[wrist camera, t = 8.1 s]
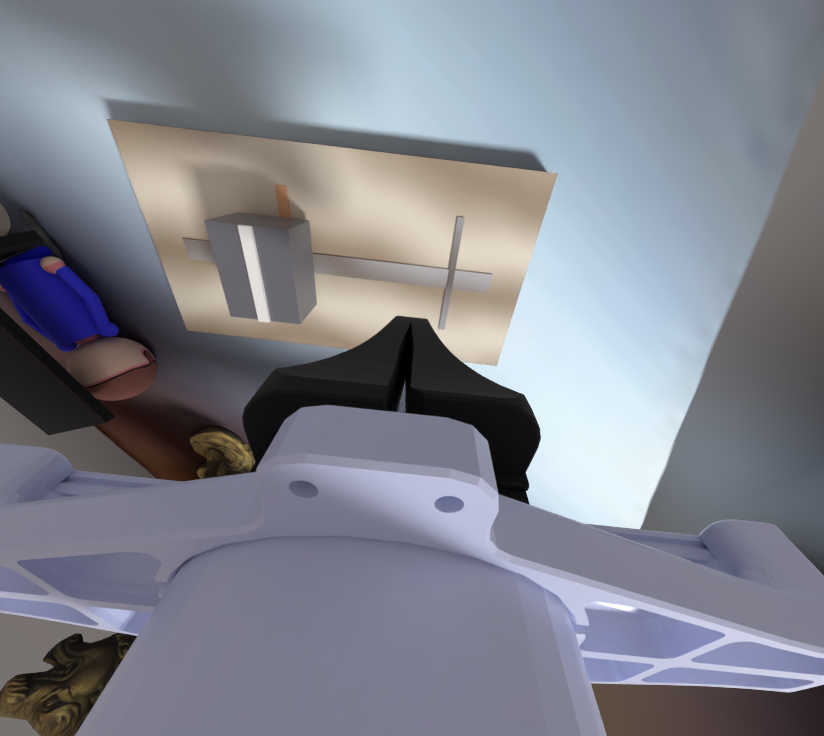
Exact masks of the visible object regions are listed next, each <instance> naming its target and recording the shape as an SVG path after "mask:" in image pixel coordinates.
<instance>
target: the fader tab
mask: <svg viewBox="0 0 824 736" xmlns="http://www.w3.org/2000/svg"><path fill="white" fill-rule="evenodd" d="M204 222H205V226H206V229H207V233H208V237H209V240H210V244H211V247H212V251H213V255H214V258H215V262H216V266H217V269H218V273H219V276H220V280H221V284H222V287H223V291H224V294H225V298H226V302H227V305H228V309H229V313H230V316H231V317H239V318H248V319H257V320H258V321H259V322H268V323H269V322H270V321H274V322H283V323H292V324H301V323H302V322H303V320H304V319H305V318H306V317H307V316H308V314H309V313H310V312H311V311H312V310H313V308H314V307H315V306H316V305H317V298H316V287H315V277H314V266H313V255H312V244H311V233H310V222H309V220H301V219H292V218H284V217H275V216H267V215H258V214H250V213H241V212H237V213H232V214H228V215H224V216H220V217H216V218H211V219H207V220H204Z"/></svg>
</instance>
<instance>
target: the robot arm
mask: <svg viewBox="0 0 824 736" xmlns="http://www.w3.org/2000/svg"><path fill="white" fill-rule="evenodd" d="M405 379H406V382H405ZM404 383H405V385H406V413H399V412H397V411H398V407H399V403H400V399H401V395H402V391H403V387H404ZM242 419H243V426H244V430H245V433H246V436H247V439H248V442H249V445H250V448H251V451H252V454H253V457H254V460H255V463H254V465H253V467H252V468H251V470H250V472H249V473H244V474H236V475H229V476H221V477H214V478H206V479H199V480H191V481H183V482H180V481H170V480H160V479H151V478H141V477H132V476H122V475H113V474H103V473H93V472H84V471H74V469H73V467H72V465H71V464H70V462H69V461H68V460H67V459H66V458H65V457H64V456H63V455H61V454H60V453H58V452H56V451H54V450H52V449H48V448H43V447H33V446H24V445H15V444H0V612H1V613H8V614H14V615H22V616H28V617H34V618H41V619H46V620H52V621H58V622H64V623H69V624H75V625H80V626H87V627H91V628H97V629H102V630H108V631H113V632H119V633H124V634H130V635H135V636H137V638H136V639H135V641H134V642H133V644H132V646H131V647H130V649H129V650H128V652H127V654H126V655H125V657H124V658H123V660H122V662H121V663H120V665H119V666H118V668H117V669H116V671H115V673H114V674H113V676H112V677H111V679H110V681H109V682H108V684H107V685H106V687H105V689H104V690H103V692H102V693H101V695H100V697H99V698H98V700H97V701H96V703H95V704H94V706H93V708H92V709H91V711H90V712H89V714H88V716H87V717H86V719H85V720H84V722H83V724H82V725H81V727H80V728H79V730H78V732H77V733H76V735H75V736H606V732H605V729H604V726H603V722H602V719H601V716H600V713H599V709H598V706H597V703H596V700H595V696H594V693H593V690H592V687H591V683H606V684H653V685H654V684H655V685H688V686H713V687H731V688H747V689H758V690H771V691H781V692H794V691H798V690H802V689H807V688H810V687H815V686H819V685H824V576H823V575H822V574H821V573H820V572H819V570H817V568H816V567H815V566H814V565H813V564H812V563H811V562H810V561H809V560H808V559H807V558H806V557H805V556H804V555H803V554H802V553H801V552H800V551H799V550H798V549H797V548H796V546H795V545H794V544H792V542H791V541H790V540H789V539H788V538H787V537H786V536H785V535H784V534H783V533H782V532H781V531H780V530H779V529H778V528H777V527H776V526H775V525H773V524H769V523H761V522H751V521H742V520H732V519H731V520H720V521H717V522H714V523H712V524H710V525H709V526H707V527H706V528H705V529H704V530H703V531H702V532H701V533H700V535H699V536H697V535H687V534H678V533H669V532H659V531H649V530H640V529H630V528H621V527H611V526H602V525H592V524H583V523H580V522H577V521H575V520H572V519H569V518H566V517H563V516H560V515H557V514H555V513H552V512H549V511H546V510H543V509H540V508H537V507H535V506H532V505H530V504H529V501H528V497H527V494H526V491H527V490H528V488H529V482H528V479H527V476H526V471H527V469H528V467H529V465H530V463H531V461H532V459H533V457H534V455H535V453H536V451H537V449H538V446H539V442H540V439H541V436H540V428H539V425H538V423H537V420H536V418H535V415H534V413H533V411H532V409H531V407H530V405H529V403H528V401H527V399H526V397H525V396H524V395H523V394H521V393H518V392H516V391H513V390H511V389H508V388H506V387H503V386H501V385H499V384H497V383H495V382H493V381H491V380H489V379H487V378H485V377H483V376H482V375H480V374H478V373H477V372H475V371H474V370H472V369H471V368H469V367H468V366H467V365H465V364H464V363H463V362H461V361H460V360H459V359H458V358H457V357H456V356H455V355H453V354H452V353H451V352H450V351H449V349H448V348H447V347H446V346H445V345H444V344H443V342H442V341H441V340H440V338H439V337H438V336H437V334H436V333H435V331H434V329H433V328H432V326H431V324H430V322H429V321H428V319H425V318H415V317H406V316H396V317H394V318H393V319H392V320H391V321H390V322H389V323H388V324H387V325H386V326H385V327H384V328H382V329H381V330H380V331H379V332H378V333H377V334H375V335H374V336H372V337H371V338H370V339H368V340H367V341H365V342H364V343H362V344H360V345H358V346H356V347H354V348H352V349H350V350H348V351H346V352H343V353H341V354H338V355H336V356H333V357H330V358H327V359H324V360H320V361H316V362H312V363H308V364H303V365H297V366H291V367H285V368H277V369H275V370H274V371H273V372H272V374H271V375H270V376H269V377H268V378H267V379H266V380H265V382H264V383H263V384H262V386H261V387H260V388H259V390H258V391H257V392H256V393H255V395H254V396H253V397H252V399H251V400H250V401H249V403H248V404H247V405H246V407H245V408H244V412H243V416H242Z"/></svg>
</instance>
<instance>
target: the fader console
mask: <svg viewBox="0 0 824 736" xmlns="http://www.w3.org/2000/svg"><path fill="white" fill-rule="evenodd" d="M107 121H108V123H109V126H110V129H111V131H112V134H113V136H114V139H115V142H116V144H117V147H118V150H119V152H120V155H121V158H122V160H123V163H124V165H125V168H126V171H127V173H128V176H129V179H130V181H131V184H132V186H133V189H134V192H135V194H136V197H137V200H138V202H139V205H140V208H141V210H142V213H143V215H144V218H145V221H146V223H147V226H148V229H149V231H150V234H151V237H152V239H153V242H154V244H155V247H156V250H157V252H158V255H159V258H160V260H161V263H162V265H163V268H164V271H165V273H166V276H167V279H168V281H169V284H170V287H171V289H172V292H173V294H174V297H175V300H176V302H177V305H178V308H179V310H180V313H181V316H182V318H183V321H184V323H185V326H186V329H187V331H195V332H204V333H213V334H222V335H230V336H239V337H248V338H257V339H266V340H274V341H283V342H292V343H301V344H310V345H318V346H327V347H336V348H345V349H352V348H354V347H356V346H358V345H360V344H362V343H364V342H365V341H367V340H368V339H370V338H371V337H372V336H374V335H375V334H377V333H378V332H379V331H380V330H381V329H382V328H384V327H385V326H386V325H387V324H388V323H389V322H390V321H391V320H392V319H393V318H394V317H396V316H406V317H415V318H425V319H428V321H429V322H430V324H431V326H432V328H433V329H434V331H435V333H436V334H437V336H438V337H439V338H440V340H441V341H442V342H443V344H444V345H445V346H446V347H447V348H448V349H449V351H450V352H451V353H452V354H453V355H455V356H456V357H457V358H458V359H459V360H460V361H461V362H468V363H477V364H485V365H494V366H496V365H497V362H498V359H499V356H500V353H501V350H502V346H503V343H504V340H505V337H506V334H507V331H508V328H509V324H510V321H511V318H512V315H513V312H514V309H515V306H516V303H517V299H518V296H519V293H520V290H521V287H522V284H523V281H524V277H525V274H526V271H527V268H528V265H529V262H530V259H531V255H532V252H533V249H534V246H535V243H536V240H537V237H538V234H539V230H540V227H541V224H542V221H543V218H544V215H545V212H546V208H547V205H548V202H549V199H550V196H551V193H552V190H553V186H554V183H555V180H556V177H557V174H558V173H550V172H542V171H534V170H526V169H517V168H509V167H501V166H492V165H484V164H476V163H467V162H459V161H451V160H443V159H434V158H426V157H418V156H409V155H401V154H393V153H384V152H376V151H368V150H360V149H351V148H343V147H335V146H326V145H318V144H310V143H301V142H293V141H285V140H277V139H268V138H260V137H252V136H243V135H235V134H227V133H218V132H210V131H202V130H194V129H185V128H177V127H169V126H160V125H152V124H144V123H135V122H127V121H119V120H111V119H107ZM237 212H241V213H250V214H258V215H267V216H275V217H284V218H292V219H301V220H309V222H310V233H311V244H312V255H313V266H314V277H315V287H316V298H317V305H316V306H315V307H314V308H313V310H312V311H311V312H310V313H309V314H308V316H307V317H306V318H305V319H304V320H303V322H302V323H301V324H292V323H283V322H274V321H270V322H269V323H268V322H259V321H258V320H257V319H248V318H239V317H231V316H230V313H229V309H228V305H227V302H226V298H225V294H224V291H223V287H222V284H221V280H220V276H219V273H218V269H217V266H216V262H215V258H214V255H213V251H212V247H211V244H210V240H209V237H208V233H207V229H206V226H205V222H204V220H207V219H211V218H216V217H220V216H224V215H228V214H232V213H237Z"/></svg>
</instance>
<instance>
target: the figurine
mask: <svg viewBox="0 0 824 736" xmlns="http://www.w3.org/2000/svg"><path fill="white" fill-rule="evenodd" d="M189 438H190V443H191V445H192V447H193V449H194V450H195V452H197V453H198V454H200V455H202V456H204V457H206V458H207V461H206V462H204V463H203V464H202V465H201V466H200V467H199V468H198V469H197V475H198V476H199V477H200V478H201V479H206V478H214V477H221V476H229V475H236V474H244V473H249V472H250V470H251V468H252V467H253V465H254V463H255V460H254V457H253V454H252V451H251V448H250V445H249V444H247V443H245V442H244V441H243V440H242V439H241V438H240V437H239V436H238V435H236V434H235V433H233V432H231V431H229V430H227V429H224V428H221V427H214V426H208V427H206V428H204V429H202V430H200V431H198V432H196V433H194V434H193V435H191V436H190V437H189ZM136 638H137V636H135V635H130V634H124V633H117V634H114V635H112V636H110V637H108V638H105V639H103V640H100V641H96V642H93V643H87V642H83V637H82V635H81V634H74V635H72V636H70V637H68V638H66V639H64V640H62V641H61V642H59V643H58V644H56V645H55V646H54V647H53V648H52V649H51V650H50V651H49V652H48V653H47V655H46V656H45V657H44V659H43V661H44V662H46V663H49V664H51V665H53V668H52V669H50V670H48V671H45V672H38V673H27V674H20V675H16V676H15V677H13V678H12V679H10V680H9V681H7V683H6V684H5V686H4V687H3V689H2V690H1V691H0V717H9V718H17V719H23V720H27V721H28V722H29V723H30V725H31V726H32V728H33V729H34V730H35V731H36V732H37V733H38V734H39V735H40V736H75V735H76V733H77V732H78V730H79V728H80V727H81V725H82V724H83V722H84V720H85V719H86V717H87V716H88V714H89V712H90V711H91V709H92V708H93V706H94V704H95V703H96V701H97V700H98V698H99V697H100V695H101V693H102V692H103V690H104V689H105V687H106V685H107V684H108V682H109V681H110V679H111V677H112V676H113V674H114V673H115V671H116V669H117V668H118V666H119V665H120V663H121V662H122V660H123V658H124V657H125V655H126V654H127V652H128V650H129V649H130V647H131V646H132V644H133V642H134V641H135V639H136Z"/></svg>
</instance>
